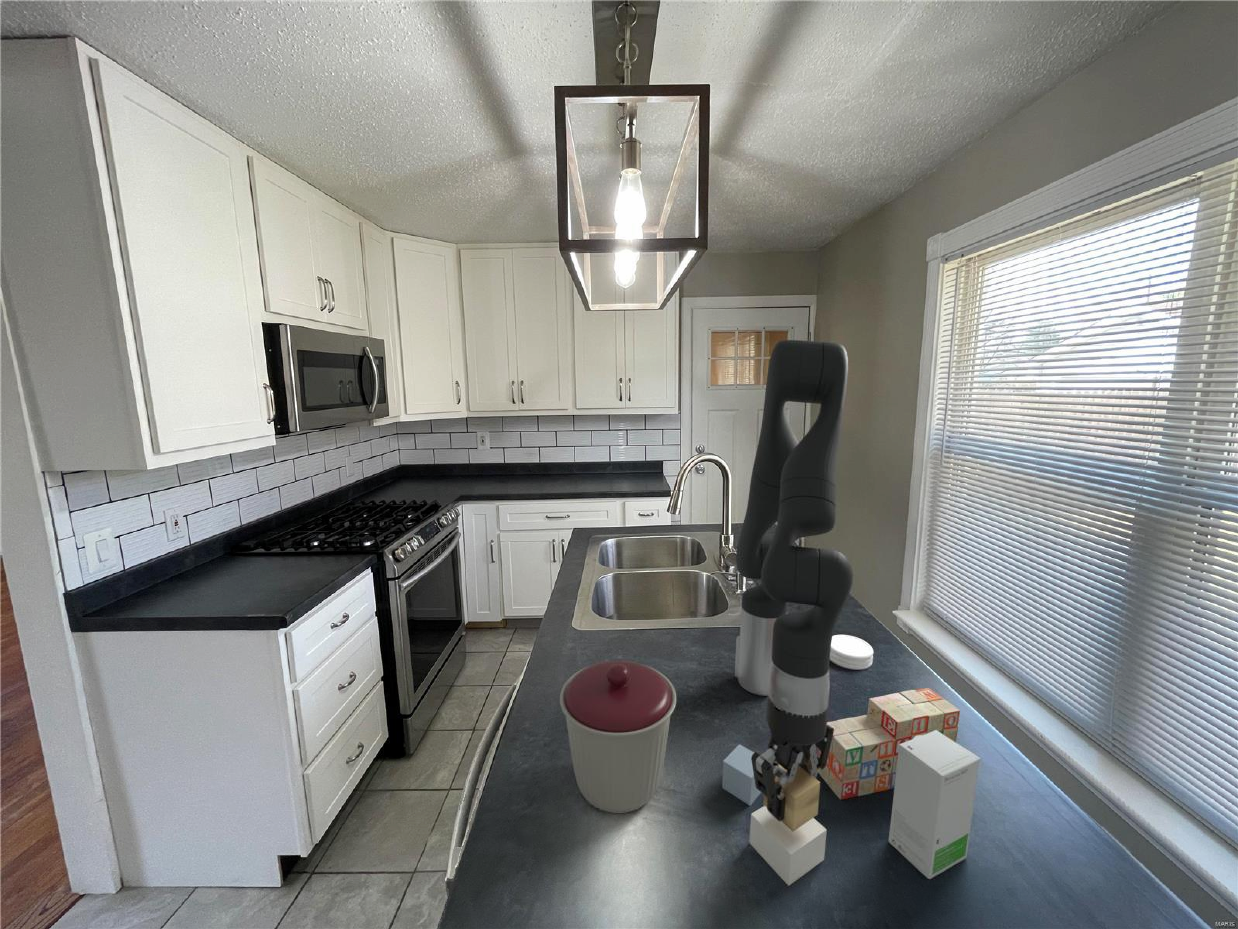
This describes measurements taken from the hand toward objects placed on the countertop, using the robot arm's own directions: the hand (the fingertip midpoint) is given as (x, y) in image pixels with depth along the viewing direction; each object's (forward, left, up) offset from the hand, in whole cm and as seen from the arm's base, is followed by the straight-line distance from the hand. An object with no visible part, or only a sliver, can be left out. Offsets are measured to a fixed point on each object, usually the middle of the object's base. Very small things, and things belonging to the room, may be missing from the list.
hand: (789, 806), depth 68 cm
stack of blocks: (-1, +25, -8) cm, 26 cm away
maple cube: (0, 0, 0) cm, 0 cm away
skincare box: (+10, +17, -8) cm, 21 cm away
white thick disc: (-25, +51, -8) cm, 57 cm away
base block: (0, 0, -8) cm, 8 cm away
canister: (-22, -14, -8) cm, 27 cm away
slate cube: (-11, +3, -7) cm, 14 cm away
